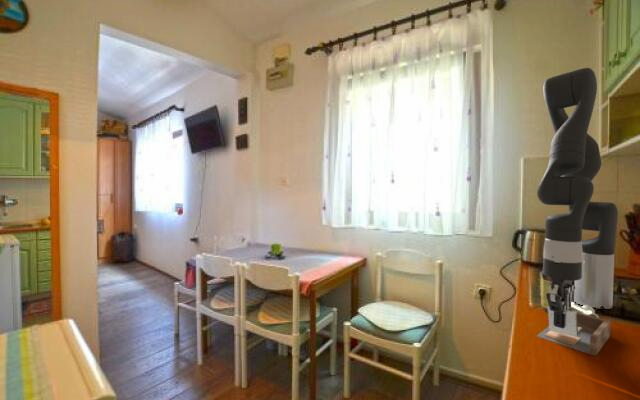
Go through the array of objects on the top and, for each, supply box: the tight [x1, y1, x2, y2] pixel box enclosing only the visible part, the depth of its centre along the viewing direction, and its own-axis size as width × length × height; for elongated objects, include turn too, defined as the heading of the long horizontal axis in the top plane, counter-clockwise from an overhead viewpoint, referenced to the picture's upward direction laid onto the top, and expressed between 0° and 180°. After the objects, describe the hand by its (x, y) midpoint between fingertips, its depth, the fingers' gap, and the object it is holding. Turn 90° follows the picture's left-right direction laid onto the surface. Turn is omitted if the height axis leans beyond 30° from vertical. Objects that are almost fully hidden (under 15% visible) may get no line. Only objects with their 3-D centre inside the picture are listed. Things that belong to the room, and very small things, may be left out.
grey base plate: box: [536, 325, 593, 355], centre depth 78 cm, size 14×11×1 cm
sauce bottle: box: [540, 269, 552, 313], centre depth 92 cm, size 7×6×20 cm
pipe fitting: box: [569, 301, 600, 318], centre depth 88 cm, size 8×4×7 cm
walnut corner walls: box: [576, 312, 612, 357], centre depth 77 cm, size 14×11×4 cm
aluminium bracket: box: [547, 306, 582, 337], centre depth 76 cm, size 6×4×6 cm
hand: (560, 326), depth 76 cm, fingers closed on aluminium bracket, 1 cm apart
